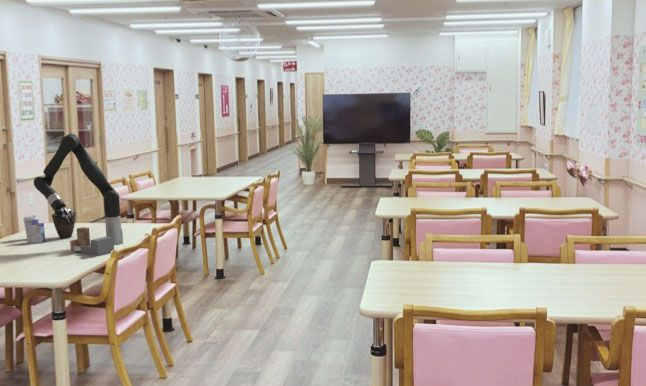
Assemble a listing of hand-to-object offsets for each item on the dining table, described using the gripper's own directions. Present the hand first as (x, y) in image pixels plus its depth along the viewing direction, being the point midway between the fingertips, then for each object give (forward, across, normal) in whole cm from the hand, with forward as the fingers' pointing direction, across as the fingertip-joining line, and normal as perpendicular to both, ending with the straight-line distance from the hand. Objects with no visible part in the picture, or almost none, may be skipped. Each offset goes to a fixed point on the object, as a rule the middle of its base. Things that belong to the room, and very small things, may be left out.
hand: (71, 223), depth 437 cm
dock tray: (+18, 0, +4) cm, 18 cm away
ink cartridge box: (-18, +6, +40) cm, 44 cm away
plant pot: (-15, +25, +37) cm, 47 cm away
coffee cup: (-26, +12, +49) cm, 57 cm away
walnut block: (+17, 0, +3) cm, 17 cm away
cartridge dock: (+27, 0, -4) cm, 27 cm away
